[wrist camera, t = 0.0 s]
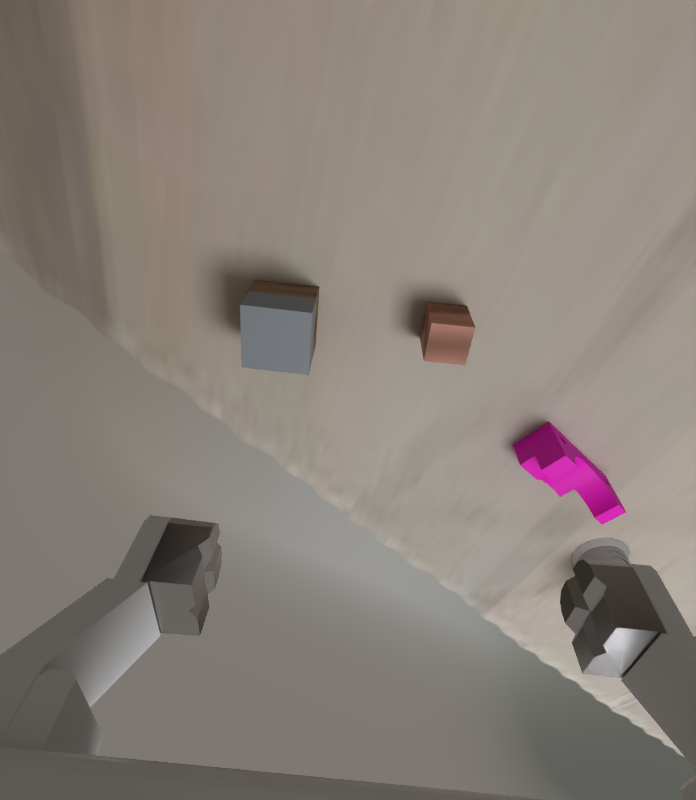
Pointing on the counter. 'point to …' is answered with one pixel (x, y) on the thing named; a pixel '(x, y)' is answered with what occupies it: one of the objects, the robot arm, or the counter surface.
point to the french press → (602, 551)
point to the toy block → (568, 471)
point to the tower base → (289, 294)
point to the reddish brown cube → (446, 333)
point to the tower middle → (277, 332)
